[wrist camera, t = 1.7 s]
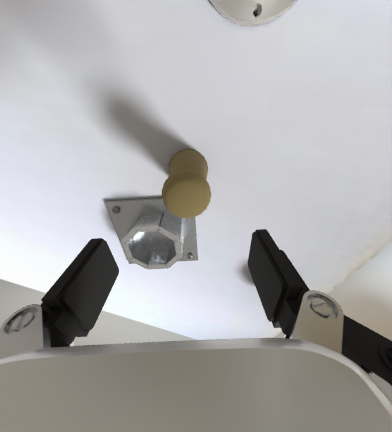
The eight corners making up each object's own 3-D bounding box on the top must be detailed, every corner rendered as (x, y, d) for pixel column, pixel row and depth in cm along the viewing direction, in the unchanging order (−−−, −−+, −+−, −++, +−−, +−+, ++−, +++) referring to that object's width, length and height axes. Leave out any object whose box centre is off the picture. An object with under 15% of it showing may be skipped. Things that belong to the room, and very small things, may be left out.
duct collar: (106, 200, 28) (92, 214, 24) (193, 195, 28) (193, 209, 24) (130, 261, 36) (122, 279, 32) (197, 258, 36) (198, 275, 32)
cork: (166, 183, 26) (151, 221, 17) (172, 144, 23) (159, 164, 14) (202, 191, 27) (206, 231, 18) (212, 154, 24) (225, 180, 15)
